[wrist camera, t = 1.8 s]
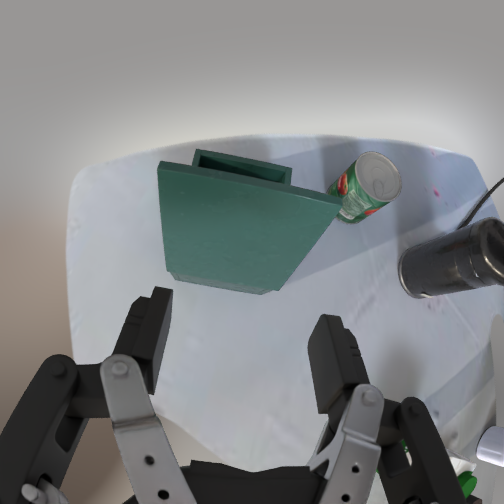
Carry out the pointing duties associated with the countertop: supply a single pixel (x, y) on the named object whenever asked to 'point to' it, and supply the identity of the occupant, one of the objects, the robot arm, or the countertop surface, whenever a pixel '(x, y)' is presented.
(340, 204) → the case lid
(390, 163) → the canned tomato
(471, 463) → the milk carton
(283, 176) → the case
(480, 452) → the spray bottle
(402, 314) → the countertop surface
